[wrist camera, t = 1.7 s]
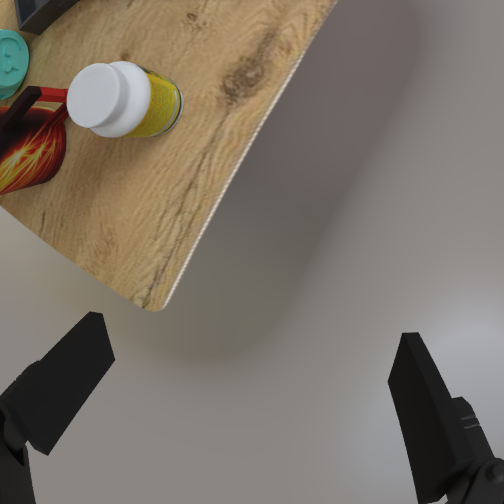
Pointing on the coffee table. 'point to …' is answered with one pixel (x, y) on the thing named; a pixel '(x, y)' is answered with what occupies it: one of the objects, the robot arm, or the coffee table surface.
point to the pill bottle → (124, 100)
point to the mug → (32, 139)
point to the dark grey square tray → (33, 3)
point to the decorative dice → (12, 62)
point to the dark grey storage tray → (38, 15)
